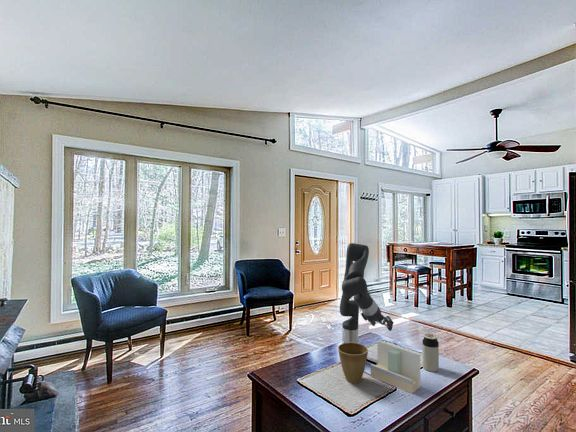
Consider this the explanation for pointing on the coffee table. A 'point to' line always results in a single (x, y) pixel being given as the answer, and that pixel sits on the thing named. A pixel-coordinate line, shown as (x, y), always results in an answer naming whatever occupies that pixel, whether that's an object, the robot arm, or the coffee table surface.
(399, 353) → the pale green block
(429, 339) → the travel mug
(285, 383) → the coffee table surface
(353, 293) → the robot arm
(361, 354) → the plant pot
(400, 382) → the white display stand
